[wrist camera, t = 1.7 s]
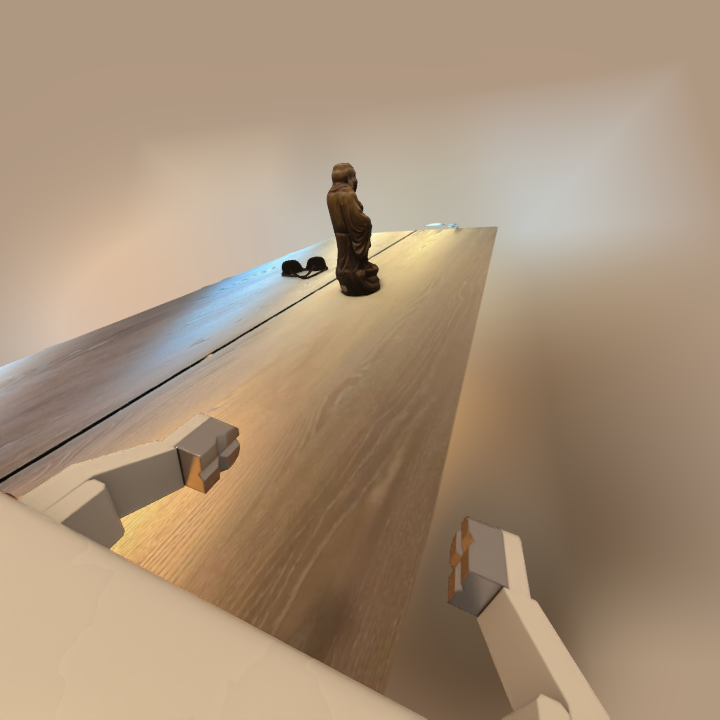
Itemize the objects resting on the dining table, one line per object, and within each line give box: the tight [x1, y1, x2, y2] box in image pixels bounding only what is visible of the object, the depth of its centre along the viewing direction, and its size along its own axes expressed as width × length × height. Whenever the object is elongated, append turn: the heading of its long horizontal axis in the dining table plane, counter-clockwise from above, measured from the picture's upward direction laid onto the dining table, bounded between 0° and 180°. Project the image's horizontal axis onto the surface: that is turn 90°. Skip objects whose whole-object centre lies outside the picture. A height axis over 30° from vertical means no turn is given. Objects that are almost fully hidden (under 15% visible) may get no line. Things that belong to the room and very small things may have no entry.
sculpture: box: [327, 163, 380, 295], centre depth 75 cm, size 12×13×30 cm
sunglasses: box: [282, 257, 328, 279], centre depth 101 cm, size 17×14×5 cm
